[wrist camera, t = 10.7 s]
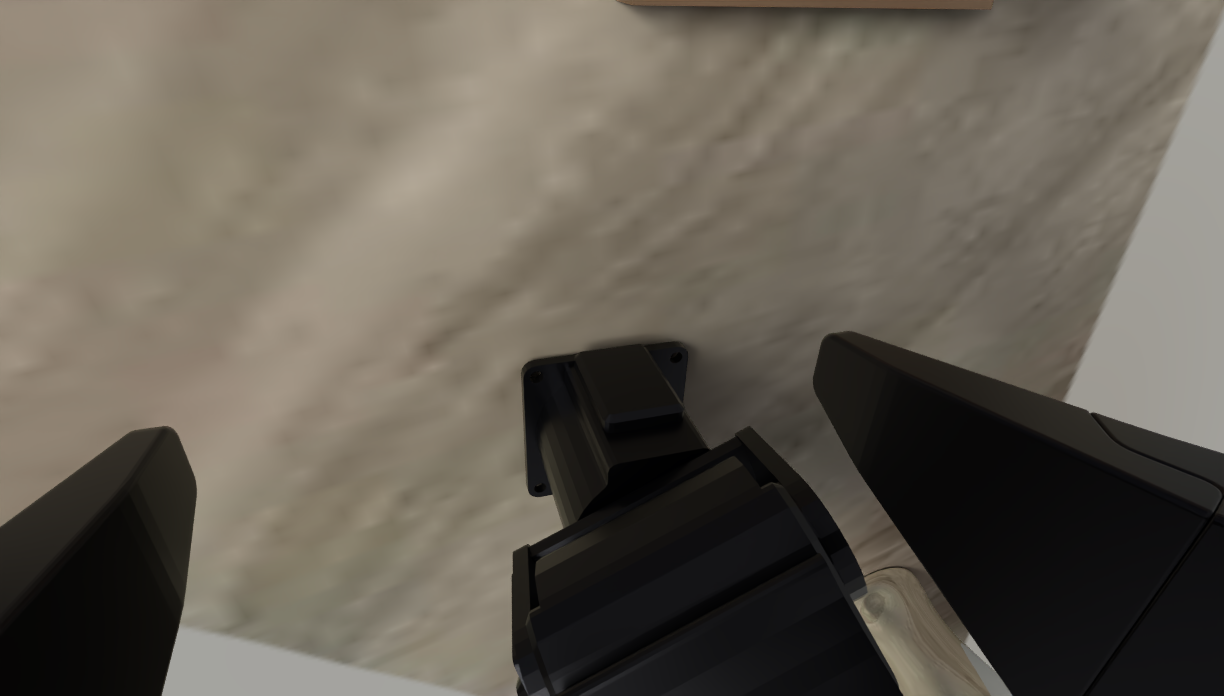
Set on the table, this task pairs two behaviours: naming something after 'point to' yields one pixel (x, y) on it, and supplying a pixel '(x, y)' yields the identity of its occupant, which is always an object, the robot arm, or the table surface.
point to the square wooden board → (825, 3)
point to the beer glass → (921, 641)
